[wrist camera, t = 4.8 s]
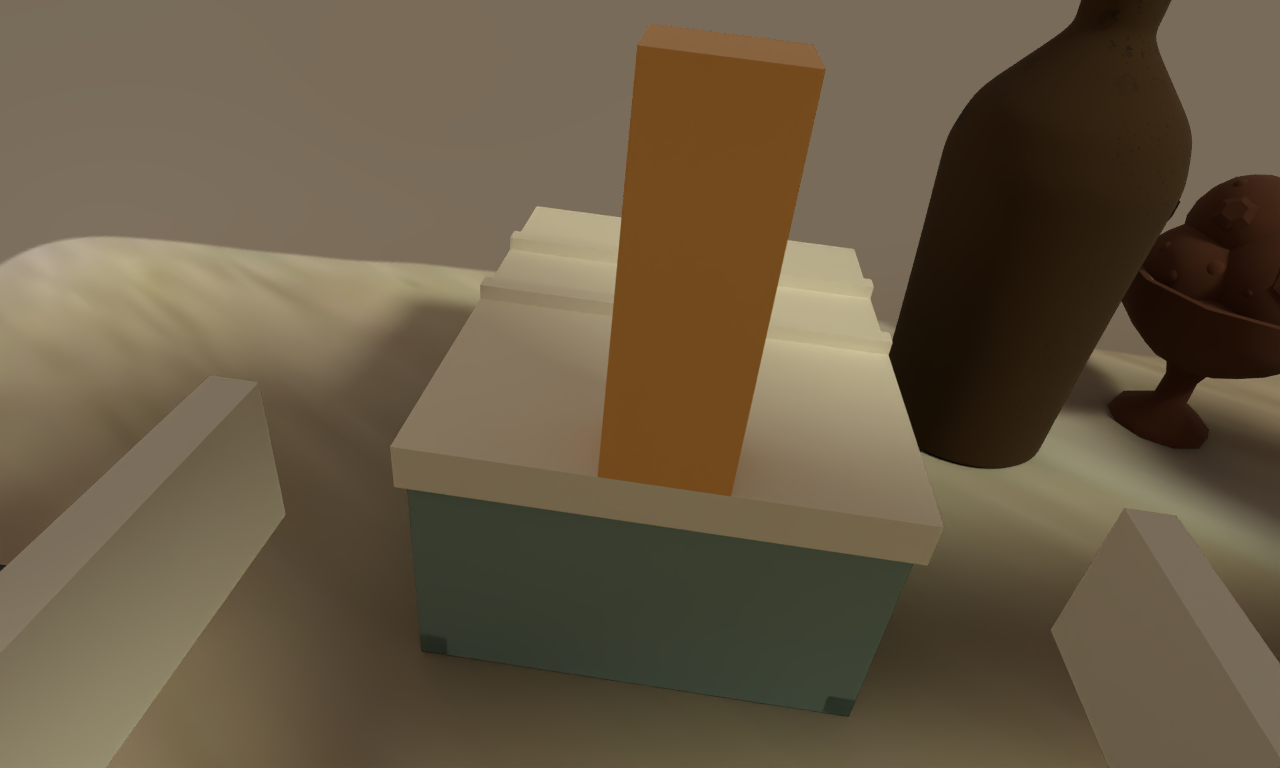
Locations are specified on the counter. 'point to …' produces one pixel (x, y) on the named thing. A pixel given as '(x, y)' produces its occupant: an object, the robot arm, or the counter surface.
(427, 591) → the tub
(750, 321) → the lid
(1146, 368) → the counter surface
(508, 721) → the counter surface
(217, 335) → the counter surface
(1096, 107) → the olive oil
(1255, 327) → the ice cream bowl
